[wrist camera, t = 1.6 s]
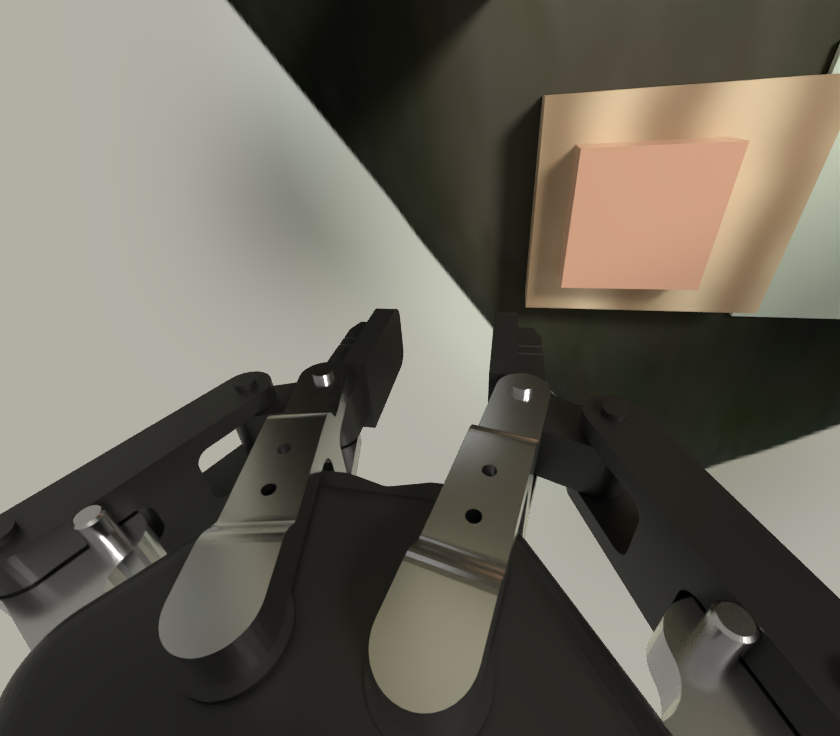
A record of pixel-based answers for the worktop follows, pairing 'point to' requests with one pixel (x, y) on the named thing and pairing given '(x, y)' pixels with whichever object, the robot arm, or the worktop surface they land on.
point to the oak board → (689, 119)
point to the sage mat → (811, 251)
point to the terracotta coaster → (646, 212)
